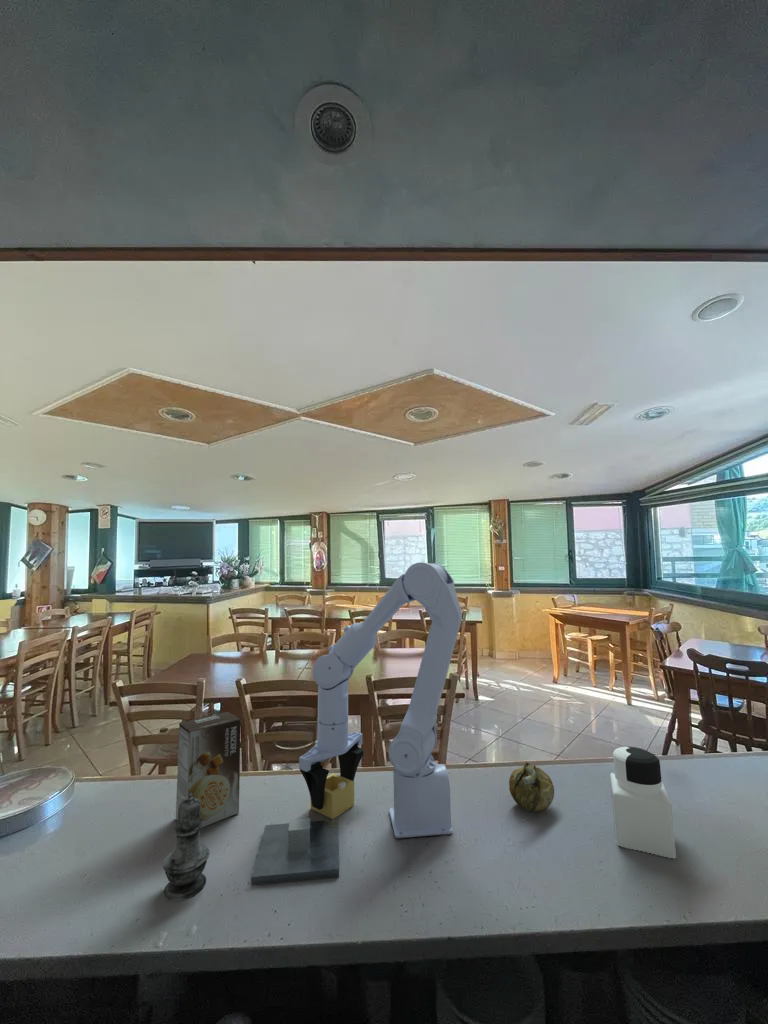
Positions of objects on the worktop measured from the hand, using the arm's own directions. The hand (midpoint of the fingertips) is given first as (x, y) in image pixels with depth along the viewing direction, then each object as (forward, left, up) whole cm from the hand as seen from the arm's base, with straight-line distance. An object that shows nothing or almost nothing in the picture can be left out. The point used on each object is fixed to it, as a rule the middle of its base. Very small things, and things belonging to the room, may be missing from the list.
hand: (332, 798), depth 77 cm
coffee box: (+22, 0, -2) cm, 22 cm away
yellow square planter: (0, 0, -1) cm, 1 cm away
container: (-49, +16, -2) cm, 52 cm away
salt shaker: (+20, +17, -2) cm, 26 cm away
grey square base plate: (+5, +12, -1) cm, 13 cm away
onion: (-36, +5, -2) cm, 36 cm away
